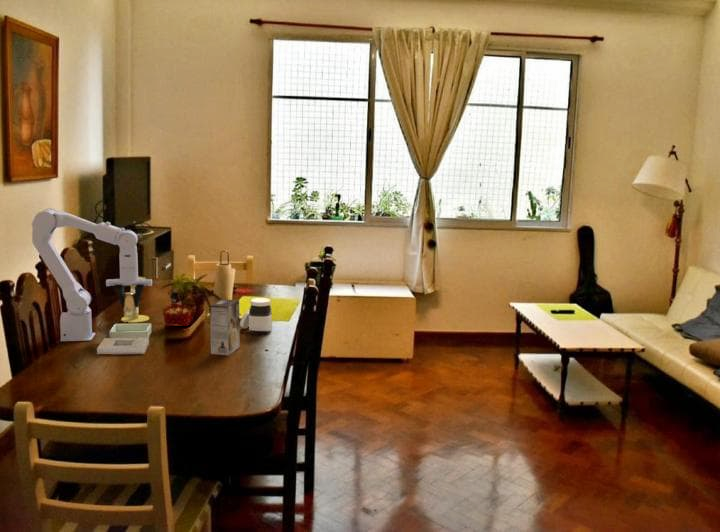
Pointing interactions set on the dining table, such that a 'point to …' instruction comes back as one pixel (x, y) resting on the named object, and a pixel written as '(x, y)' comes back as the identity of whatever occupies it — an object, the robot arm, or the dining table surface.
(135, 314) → the pin
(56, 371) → the dining table surface
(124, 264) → the robot arm
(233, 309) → the coffee box
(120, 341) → the block
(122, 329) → the tray
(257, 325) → the spread jar
